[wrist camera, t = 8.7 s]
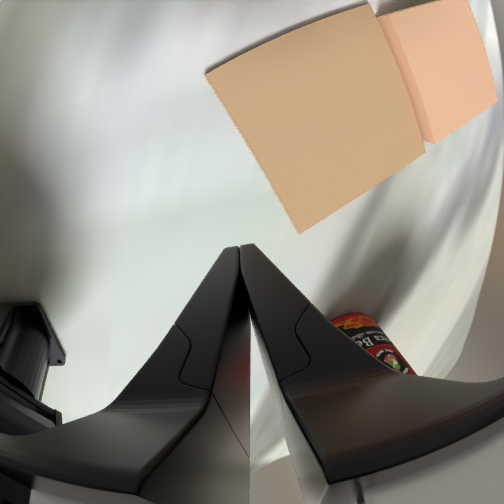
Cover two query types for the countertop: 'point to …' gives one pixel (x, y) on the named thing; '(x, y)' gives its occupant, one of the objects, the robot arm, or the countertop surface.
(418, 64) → the tile
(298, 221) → the mat
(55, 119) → the countertop surface
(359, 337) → the canned food
